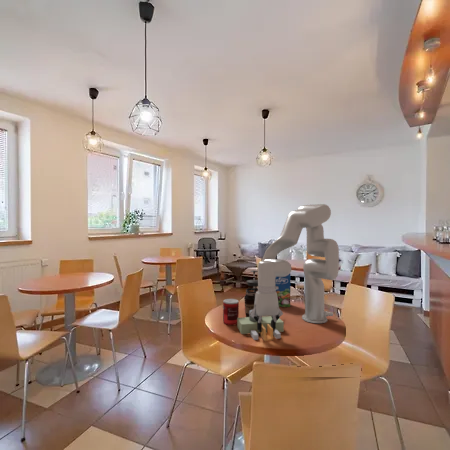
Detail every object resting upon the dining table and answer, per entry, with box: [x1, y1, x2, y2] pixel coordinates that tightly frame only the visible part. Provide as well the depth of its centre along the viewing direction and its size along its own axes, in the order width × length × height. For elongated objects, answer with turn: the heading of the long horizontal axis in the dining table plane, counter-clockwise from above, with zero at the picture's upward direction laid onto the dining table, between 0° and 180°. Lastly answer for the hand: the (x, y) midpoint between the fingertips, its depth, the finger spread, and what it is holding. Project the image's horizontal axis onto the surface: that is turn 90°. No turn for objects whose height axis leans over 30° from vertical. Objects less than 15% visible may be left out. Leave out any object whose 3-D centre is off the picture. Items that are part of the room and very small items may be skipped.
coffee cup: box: [243, 292, 256, 317], centre depth 148 cm, size 9×8×13 cm
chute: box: [259, 324, 274, 342], centre depth 123 cm, size 4×6×5 cm, turn 8°
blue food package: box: [275, 273, 291, 308], centre depth 172 cm, size 6×12×25 cm, turn 80°
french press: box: [245, 269, 258, 294], centre depth 161 cm, size 12×9×23 cm
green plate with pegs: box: [236, 310, 285, 341], centre depth 129 cm, size 20×16×8 cm
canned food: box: [222, 298, 240, 326], centre depth 142 cm, size 8×8×11 cm
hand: (266, 330), depth 123 cm, fingers open, 5 cm apart
